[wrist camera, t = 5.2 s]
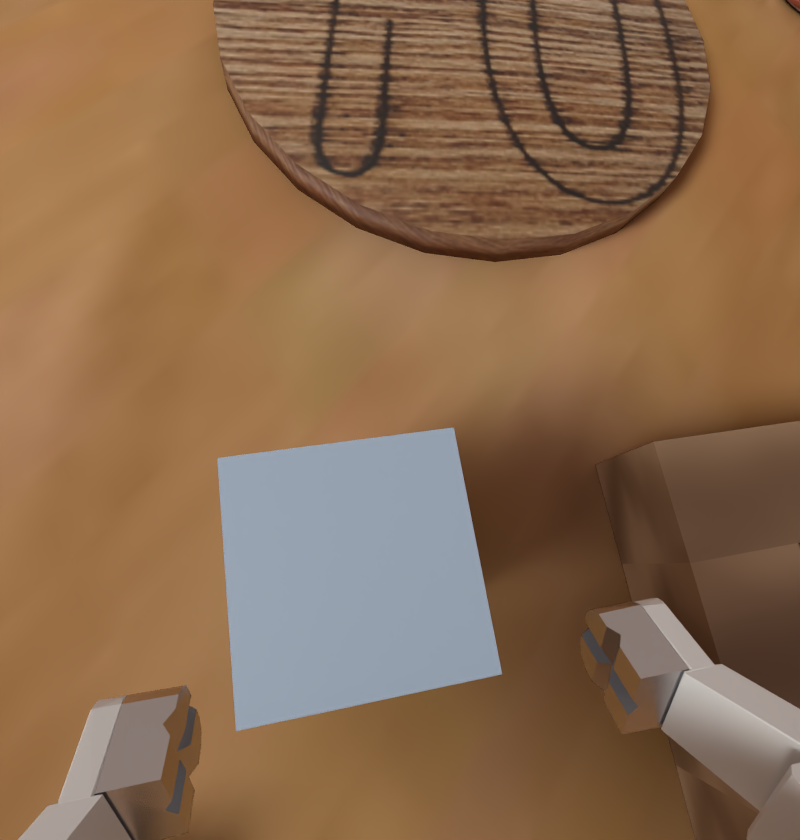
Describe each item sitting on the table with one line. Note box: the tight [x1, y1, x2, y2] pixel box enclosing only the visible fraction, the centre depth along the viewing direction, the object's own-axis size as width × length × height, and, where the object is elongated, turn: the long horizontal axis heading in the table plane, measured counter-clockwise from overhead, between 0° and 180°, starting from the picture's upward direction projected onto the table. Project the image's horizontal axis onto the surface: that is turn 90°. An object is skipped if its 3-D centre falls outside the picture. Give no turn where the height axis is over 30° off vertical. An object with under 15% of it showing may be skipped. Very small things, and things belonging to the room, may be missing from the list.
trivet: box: [213, 0, 711, 262], centre depth 26 cm, size 25×25×2 cm
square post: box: [217, 428, 502, 731], centre depth 14 cm, size 4×4×10 cm
